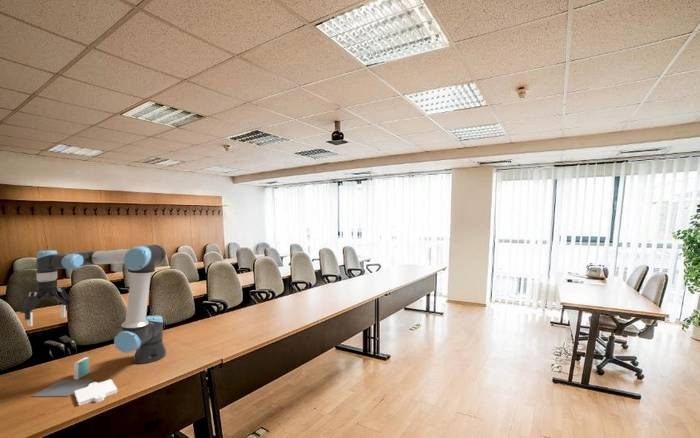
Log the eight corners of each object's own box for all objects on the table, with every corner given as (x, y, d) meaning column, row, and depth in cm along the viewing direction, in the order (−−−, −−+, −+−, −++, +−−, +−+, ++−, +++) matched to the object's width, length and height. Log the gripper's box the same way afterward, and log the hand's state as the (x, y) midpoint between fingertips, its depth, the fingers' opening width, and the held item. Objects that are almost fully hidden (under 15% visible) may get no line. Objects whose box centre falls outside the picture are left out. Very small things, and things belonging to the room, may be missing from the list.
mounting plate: (118, 395, 131) (118, 391, 131) (79, 409, 121) (79, 404, 121) (109, 381, 143) (109, 377, 143) (73, 393, 133) (73, 388, 133)
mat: (93, 380, 142) (93, 379, 142) (68, 396, 129) (68, 395, 129) (60, 380, 142) (60, 380, 142) (31, 396, 129) (31, 396, 129)
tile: (89, 372, 150) (89, 357, 150) (78, 379, 144) (78, 362, 144) (84, 373, 150) (84, 357, 150) (73, 379, 144) (74, 362, 144)
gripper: (70, 275, 166) (70, 313, 165) (9, 285, 142) (9, 329, 141) (80, 276, 163) (80, 314, 163) (19, 285, 139) (19, 330, 139)
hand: (47, 321), depth 152 cm, fingers open, 13 cm apart
